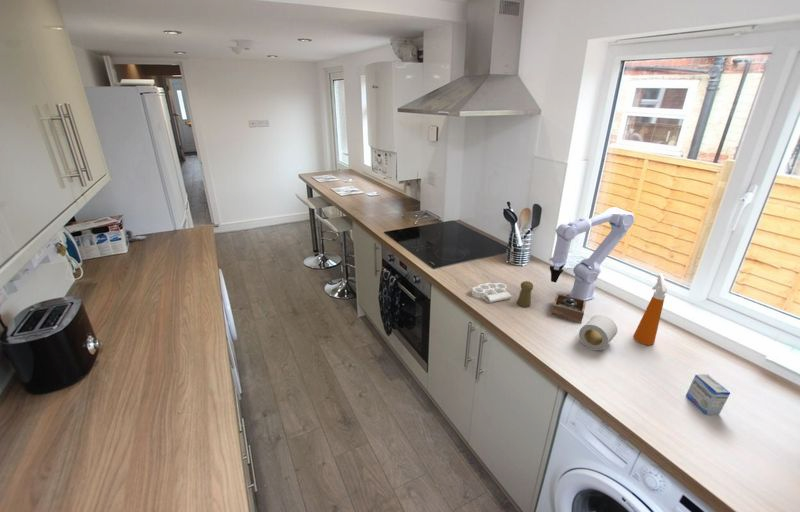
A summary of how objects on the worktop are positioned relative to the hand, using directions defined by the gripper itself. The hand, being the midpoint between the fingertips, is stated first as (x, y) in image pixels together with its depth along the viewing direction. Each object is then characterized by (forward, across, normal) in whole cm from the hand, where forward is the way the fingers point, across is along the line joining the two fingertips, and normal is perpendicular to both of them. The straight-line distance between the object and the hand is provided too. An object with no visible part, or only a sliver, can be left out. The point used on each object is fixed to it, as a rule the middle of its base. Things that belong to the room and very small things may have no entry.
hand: (554, 278), depth 166 cm
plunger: (+10, +9, +8) cm, 16 cm away
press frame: (+10, +9, +8) cm, 16 cm away
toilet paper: (+11, +27, +20) cm, 35 cm away
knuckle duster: (+12, +11, -25) cm, 30 cm away
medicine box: (+10, +44, +51) cm, 68 cm away
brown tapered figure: (+11, +12, -10) cm, 19 cm away
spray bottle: (+10, +13, +36) cm, 40 cm away
